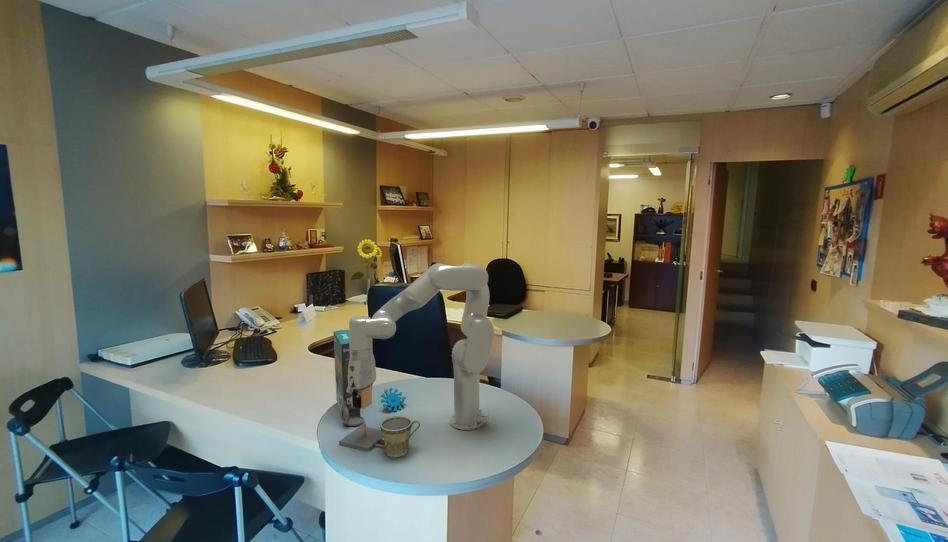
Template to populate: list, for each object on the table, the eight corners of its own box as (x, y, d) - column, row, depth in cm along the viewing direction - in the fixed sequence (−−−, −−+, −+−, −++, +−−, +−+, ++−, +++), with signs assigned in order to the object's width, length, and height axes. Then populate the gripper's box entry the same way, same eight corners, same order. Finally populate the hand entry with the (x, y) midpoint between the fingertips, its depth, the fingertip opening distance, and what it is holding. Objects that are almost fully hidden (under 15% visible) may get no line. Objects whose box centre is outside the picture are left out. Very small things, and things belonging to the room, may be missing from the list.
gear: (384, 411, 164) (379, 388, 170) (379, 418, 168) (375, 394, 173) (410, 408, 170) (405, 386, 176) (405, 415, 174) (400, 392, 179)
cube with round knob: (371, 404, 146) (371, 383, 145) (363, 409, 141) (362, 387, 141) (360, 401, 148) (360, 381, 147) (351, 407, 143) (351, 385, 142)
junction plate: (398, 436, 148) (397, 421, 147) (378, 454, 137) (377, 437, 136) (361, 428, 154) (360, 413, 153) (338, 444, 143) (338, 428, 142)
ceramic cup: (384, 463, 131) (383, 432, 130) (378, 448, 140) (377, 419, 139) (424, 454, 137) (424, 424, 135) (416, 440, 146) (415, 412, 145)
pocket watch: (367, 420, 160) (366, 395, 159) (353, 430, 152) (352, 404, 151) (349, 417, 163) (348, 392, 162) (335, 427, 155) (334, 401, 154)
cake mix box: (360, 417, 163) (357, 342, 159) (344, 420, 160) (341, 344, 157) (350, 397, 182) (348, 329, 179) (336, 399, 180) (333, 331, 176)
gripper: (354, 361, 133) (355, 416, 135) (384, 347, 149) (385, 397, 151) (335, 358, 136) (336, 412, 138) (367, 345, 152) (368, 393, 154)
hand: (362, 403), depth 144 cm, fingers closed on cube with round knob, 4 cm apart
